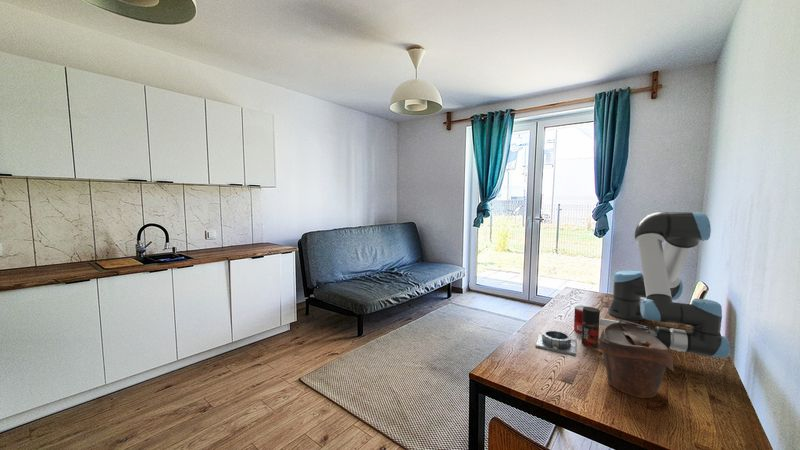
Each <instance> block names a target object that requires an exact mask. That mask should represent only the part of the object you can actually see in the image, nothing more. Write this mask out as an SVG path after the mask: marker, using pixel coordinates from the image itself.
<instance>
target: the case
mask: <svg viewBox="0 0 800 450" xmlns="http://www.w3.org/2000/svg"><path fill="white" fill-rule="evenodd" d="M598 349H599V350H600V351H602V352H603V360H604V366H605V371H606V376H607V382H608V384H609V385H610V386H612V387H613V388H614V389H616V390H618V391H620V392H622V393H624V394H627V395H629V396H632V397H635V398H638V399H639V398H640V399H650V398H655V397H656V396H657V395H658V392H659V390H660V387H661V384H662V380H663V377H664V375H665V372H666V369H669V370H671V371H672V372H675V369H674V361H673V360H674V359H673V357H672V355H671V354H670V351H669V350H670V348H667V347H666V346H665V345H664V344H663V343H662V342H661V341H660V340H659V339H657V338H656V337H655V336H653V335H652V334H650V333H648V332H647V331H645V330H643V329H641V328H639V327H637V326H634V325H631V324H627V323H613V324H610V325H608V326H604V328H603V331H602V330H601V333H600V336H599V341H598Z"/></svg>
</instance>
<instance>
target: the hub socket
mask: <svg viewBox="0 0 800 450" xmlns="http://www.w3.org/2000/svg"><path fill="white" fill-rule="evenodd" d="M576 346H577V339H574V338H572V336H571V335H569V334H568V333H566V332H563V331H561V330H556V329H546V330H543V331H542V332H539V334H538V336H537V340H536V343H535V348H537V349H542V350H547V351H552V352H556V353H560V354H565V355H566V354H567V355H571V356H576V351H577V350H576V349H577V347H576Z"/></svg>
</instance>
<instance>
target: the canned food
mask: <svg viewBox="0 0 800 450" xmlns="http://www.w3.org/2000/svg"><path fill="white" fill-rule="evenodd" d="M583 307H589V306H588V305H587V306H586V305H575V306H574V316H573V317H574V321H573V322H574V325H573V329H574V331H575V332H576V334H577V333H578V334H580V335H582V320H583Z"/></svg>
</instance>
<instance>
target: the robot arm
mask: <svg viewBox="0 0 800 450" xmlns="http://www.w3.org/2000/svg"><path fill="white" fill-rule="evenodd" d="M710 222H711V221H710V219H709V216H708V215H707V214H706V213H705V212H702V211H701V212H699V211H656V212H655V211H654V212H652V213H649V214H647V215H645V217H643V218H642V219H641V220H640V221H639V222H638V224H637V225H636V227H635V231H634V242H635V243H636V245H638V249H639V256H640V261H641V270H642V271H639V270H627V269H626V270H619V271H616V272H615V273H614V274H613V275H614V276H613V279H612V281H613V289H612V292H613V293H612V299H611V302H610V303H609V307H608V310H607V313H608V314H609V315H610V316H613V317H615V318H620V320H614V319H606V318H601V317H600V319H599V326H602V327H603V326H604V327H607V326H608V325H610V324H613V323H627V324H631V325H634V326H637V327H639V328H641V329H643V330H645V331H647V332H648V333H650V334H652V335H653V336H655V337H656V338H657V339H659V340H660V341H661V342H662V343H663V344H664V345H665V346H666V347H667V348H668V349H671V350H672V351H676V352H679V353H680V352H684V353H691V354H696V355H701V356H705V357H710V358H718V359H727V358H728V357H729V356H730V353H731V347H730V346H731V344H730V340H729V339H728V337H726V336H724V335H723V336H722V335H721V332H722V331H721V330H722V319H723V310H722V309H723V308H722V304H721V303H719V302H718V301H715V300H711V299H704V298H694V299H692V301H691V303H683V302H674V301H676V300H678V299H680V297H682V296H681V295H682V294H683V290H684V289H683V288H684V286H683V281H682V279H681V278H680V277H679V276H680V273H681V270H682V269H683V267H684V264H685V262H686V260H687V257H688V255H689V253H690V251H691V249H692V248H695V247H697V246H698V244H699V242H700V241H702V242H705V241H708V240H709V239H710V237H711V233H712V232H711V231H712V229H711V223H710ZM664 241H665V242H664ZM663 242H664V245H663ZM641 298H644V299H642V300H641ZM623 319H624V320H623ZM644 319H645V320H646V321H647V320H648V321H654V322H661V323H669V324H676V325H686V326H690V330H684V329H678V328H673V327H671V328H668V327H665V326H658V325H657V326H655V327H654V329H650V328H651V327H650V326H649V325H643V324H639V323H635V322H632V321H641V320H644ZM628 320H629V321H628ZM631 320H632V321H631ZM603 329H604V328H603ZM603 329H601V332H602V331H603Z"/></svg>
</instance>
